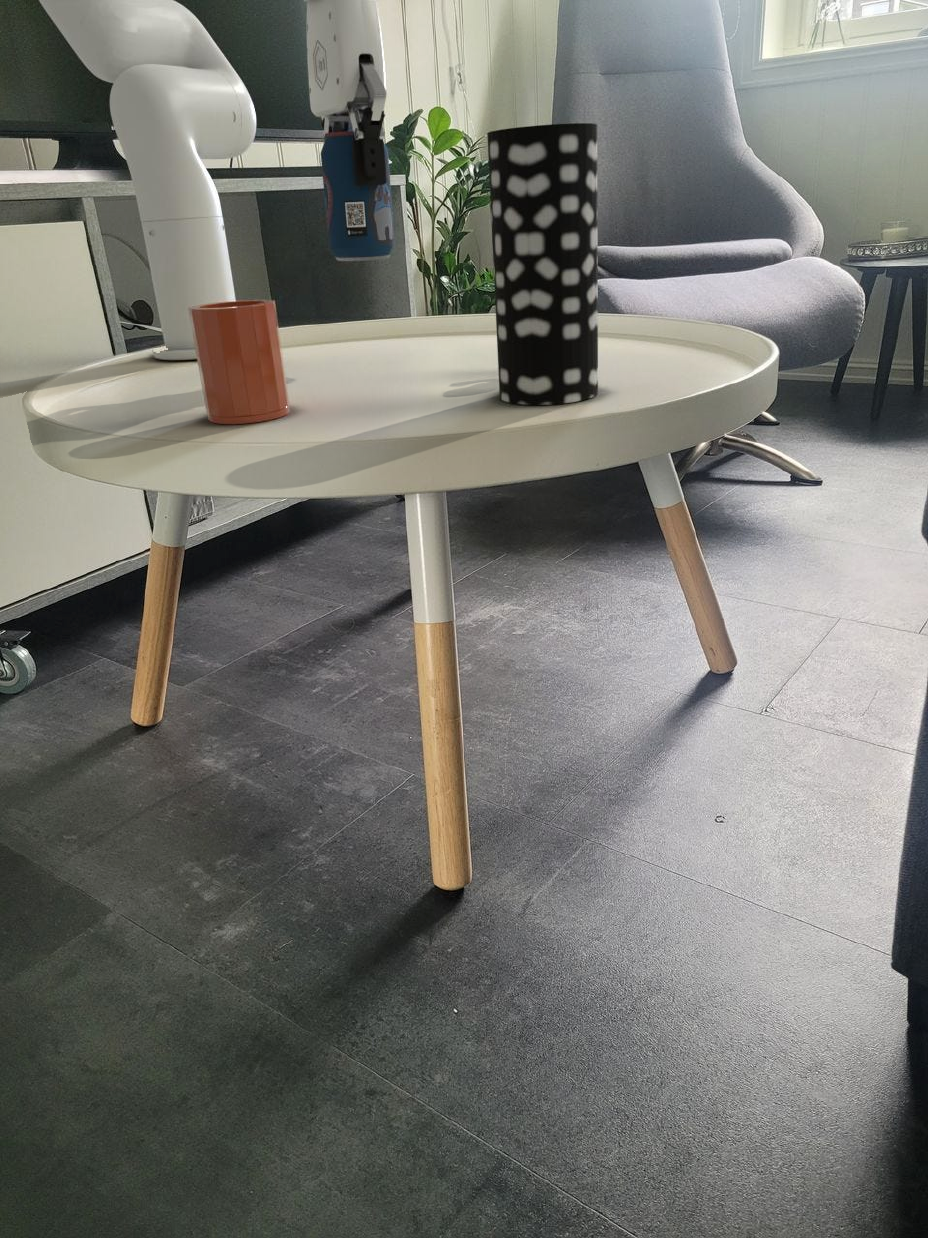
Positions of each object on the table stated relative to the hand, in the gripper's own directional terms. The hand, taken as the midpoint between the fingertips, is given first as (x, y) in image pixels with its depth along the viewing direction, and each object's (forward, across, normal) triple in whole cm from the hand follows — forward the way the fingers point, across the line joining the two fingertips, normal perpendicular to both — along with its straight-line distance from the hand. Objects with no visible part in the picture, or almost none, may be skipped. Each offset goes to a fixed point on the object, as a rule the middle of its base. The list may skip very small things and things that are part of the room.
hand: (357, 184), depth 95 cm
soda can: (+7, 0, 0) cm, 7 cm away
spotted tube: (+17, +32, +4) cm, 36 cm away
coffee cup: (+18, +21, -20) cm, 34 cm away
